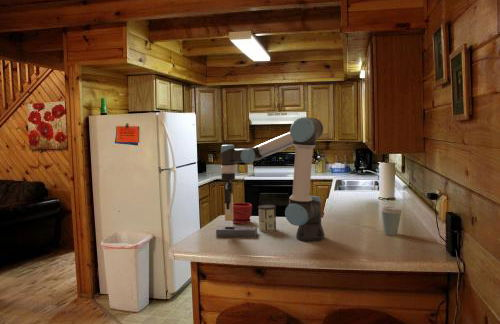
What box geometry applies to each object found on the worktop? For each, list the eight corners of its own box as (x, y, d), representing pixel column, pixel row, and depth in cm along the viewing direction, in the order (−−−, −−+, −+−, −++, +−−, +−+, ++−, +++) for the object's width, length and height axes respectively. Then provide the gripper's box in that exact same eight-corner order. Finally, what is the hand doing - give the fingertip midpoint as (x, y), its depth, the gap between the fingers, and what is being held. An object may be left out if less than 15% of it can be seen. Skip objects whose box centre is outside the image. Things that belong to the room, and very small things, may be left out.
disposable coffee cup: (386, 230, 240) (387, 204, 239) (405, 233, 232) (405, 207, 231) (377, 234, 233) (377, 207, 231) (396, 237, 225) (396, 210, 224)
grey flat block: (257, 233, 241) (257, 226, 241) (255, 237, 233) (255, 230, 233) (219, 233, 244) (219, 226, 244) (216, 236, 236) (216, 229, 236)
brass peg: (233, 219, 240) (232, 193, 239) (232, 220, 236) (231, 194, 235) (226, 219, 241) (225, 193, 239) (225, 220, 237) (224, 194, 235)
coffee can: (266, 226, 256) (266, 203, 255) (279, 229, 249) (279, 205, 248) (255, 230, 249) (254, 206, 248) (268, 232, 242) (267, 208, 241)
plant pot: (243, 225, 260) (243, 206, 259) (227, 223, 268) (227, 204, 267) (256, 221, 271) (256, 203, 270) (240, 219, 279) (239, 201, 278)
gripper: (224, 170, 245) (225, 210, 247) (218, 174, 228) (219, 217, 230) (237, 170, 244) (238, 210, 246) (232, 174, 227) (233, 217, 229)
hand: (229, 213), depth 238 cm, fingers closed on brass peg, 4 cm apart
